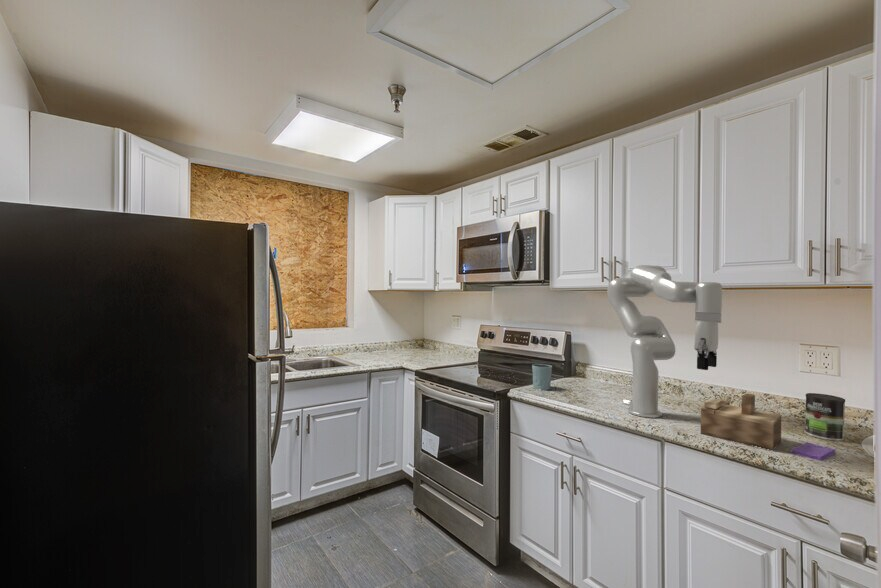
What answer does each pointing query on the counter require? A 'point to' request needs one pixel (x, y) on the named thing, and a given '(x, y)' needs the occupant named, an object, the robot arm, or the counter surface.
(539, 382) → the drinking glass
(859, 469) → the counter surface
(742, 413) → the lid
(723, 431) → the toolbox
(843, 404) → the coffee can
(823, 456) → the sponges
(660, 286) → the robot arm
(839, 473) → the counter surface
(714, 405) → the light brown wooden block
